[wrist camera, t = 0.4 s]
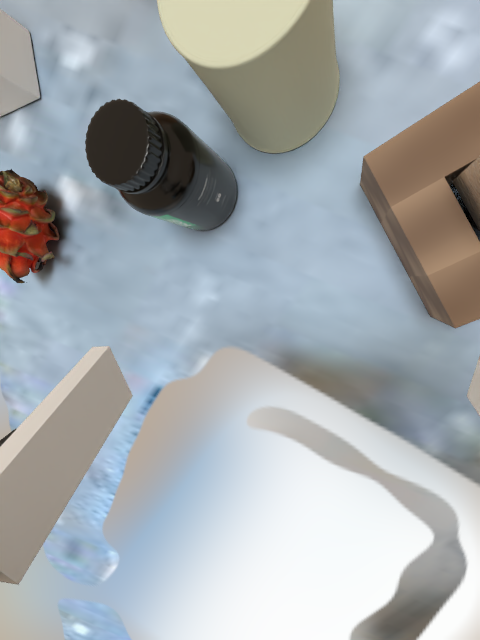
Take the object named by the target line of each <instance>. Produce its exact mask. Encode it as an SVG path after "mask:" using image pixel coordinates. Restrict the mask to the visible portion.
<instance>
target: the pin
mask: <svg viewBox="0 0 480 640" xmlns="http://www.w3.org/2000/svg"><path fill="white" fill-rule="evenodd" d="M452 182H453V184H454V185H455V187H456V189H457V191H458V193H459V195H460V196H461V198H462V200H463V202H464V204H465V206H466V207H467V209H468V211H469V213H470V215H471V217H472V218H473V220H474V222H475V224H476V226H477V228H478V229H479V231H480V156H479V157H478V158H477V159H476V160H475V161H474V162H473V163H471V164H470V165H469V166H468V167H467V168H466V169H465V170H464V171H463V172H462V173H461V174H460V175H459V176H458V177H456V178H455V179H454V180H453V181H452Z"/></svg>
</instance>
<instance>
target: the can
mask: <svg viewBox="0 0 480 640" xmlns="http://www.w3.org/2000/svg"><path fill="white" fill-rule="evenodd" d="M157 3H158V10H159V15H160V19H161V22H162V25H163V28H164V30H165V33H166V35H167V37H168V39H169V40H170V42H171V43H172V45H173V46H174V48H175V49H176V50H177V51H178V52H179V53H180V54H181V55H182V56H183V57H184V58H185V59H186V61H187V62H188V63H189V65H190V66H191V67H192V68H193V70H194V71H195V72H196V74H197V75H198V76H199V78H200V79H201V80H202V81H203V83H204V84H205V85H206V87H207V88H208V89H209V91H210V92H211V93H212V95H213V96H214V97H215V99H216V100H217V101H218V103H219V104H220V105H221V107H222V108H223V110H224V111H225V112H226V114H227V115H228V116H229V118H230V119H231V120H232V122H233V123H234V125H235V128H236V130H237V132H238V133H239V135H240V136H241V137H242V139H243V140H244V141H245V142H246V143H247V144H249V145H250V146H251V147H253V148H255V149H257V150H259V151H262V152H266V153H283V152H287V151H291V150H293V149H296V148H298V147H300V146H302V145H303V144H305V143H306V142H308V141H309V140H310V139H312V138H313V137H314V136H315V135H316V134H317V133H318V132H319V131H320V130H321V128H322V127H323V126H324V124H325V123H326V121H327V120H328V118H329V116H330V115H331V113H332V111H333V108H334V106H335V103H336V100H337V96H338V91H339V68H338V64H337V60H336V51H335V35H334V18H333V0H157Z"/></svg>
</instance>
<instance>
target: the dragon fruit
mask: <svg viewBox="0 0 480 640" xmlns="http://www.w3.org/2000/svg"><path fill="white" fill-rule="evenodd" d="M47 200H48V194H47V192H46V191H45V190H44V191H42V192H40V191H38V189H37V187H36V186H35V185H34V183H33V182H32V181H30V180H29V179H26V178H24V177H20V176H19V175H18V174H16V173H15V172H14V171H12V169H11V170H7V171H1V172H0V268H1V269H2V270H4V271H5V272H6V273H7V274H8V276H10V277H11V278H12V279H13V280H14V281H15V280H16V282H17V283H24V281H22V280H20V279H19V278H22V277H24V276H27V275H28V274H29V272H30V270H29V268H31V271H32V272H33V273H37V272H39V271H40V270H42V268H43V265H45V264H46V261H47V259H51V258H52V259H54V258H55V257H54V255H53V253H52V252H49V251H48V249H47V246H46V243H47V241H49V240H59V233H58V229H57V227H56V226H55V225H53V223H52V221H53V220H54V218H55V211H53V210H51V209H47V208H46V207H45V205H46V203H47ZM49 225H50V227H51V228H52V229H53V230H54V231H55V233H56V234H55V233H54V232H53V231H51V230H50V228H49ZM39 258H42V259H41V263H40V265H39V268H38V269H35V267H36V263H37V262H39ZM26 283H27V282H26Z"/></svg>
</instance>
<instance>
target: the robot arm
mask: <svg viewBox="0 0 480 640" xmlns="http://www.w3.org/2000/svg"><path fill="white" fill-rule="evenodd" d="M467 397H468V399H469V400H470V402H471V404H472V405H473V407H474V408H475V410H476V411H477V413H478V414H479V416H480V356H479V359H478V363H477V366H476V369H475V372H474V375H473V378H472V381H471V384H470V387H469V390H468V393H467ZM131 398H132V393H131V391H130V389H129V387H128V385H127V383H126V381H125V379H124V377H123V374H122V372H121V370H120V368H119V366H118V364H117V362H116V360H115V358H114V355H113V353H112V351H111V349H110V347H109V346H107V347H92V348H91V349H90V350H89V351H88V352H87V354H86V355H85V356H84V357H83V358H82V359H81V360H80V361H79V362H78V363H77V364H76V365H75V366H74V368H73V369H72V370H71V371H70V372H69V373H68V374H67V375H66V376H65V377H64V378H63V379H62V381H61V382H60V383H59V384H58V385H57V386H56V387H55V388H54V389H53V390H52V391H51V392H50V394H49V395H48V396H47V397H46V398H45V399H44V400H43V401H42V402H41V403H40V404H39V405H38V407H37V408H36V409H35V410H34V411H33V412H32V413H31V414H30V415H29V416H28V417H27V418H26V420H25V421H24V422H23V423H22V424H21V425H20V426H19V427H18V428H17V429H15V430H13V431H12V432H11V433H9V434H8V435H7V436H5V437H4V438H3V439H1V440H0V581H1V582H6V583H12V584H19V583H20V581H21V580H22V578H23V576H24V575H25V573H26V571H27V570H28V568H29V566H30V565H31V563H32V561H33V560H34V558H35V557H36V555H37V553H38V552H39V550H40V548H41V547H42V545H43V543H44V542H45V540H46V538H47V537H48V535H49V533H50V532H51V530H52V528H53V527H54V525H55V523H56V522H57V520H58V518H59V517H60V515H61V514H62V512H63V510H64V509H65V507H66V505H67V504H68V502H69V500H70V499H71V497H72V495H73V494H74V492H75V490H76V489H77V487H78V485H79V484H80V482H81V480H82V479H83V477H84V475H85V474H86V472H87V471H88V469H89V467H90V466H91V464H92V462H93V461H94V459H95V457H96V456H97V454H98V452H99V451H100V449H101V447H102V446H103V444H104V442H105V441H106V439H107V437H108V436H109V434H110V432H111V431H112V429H113V428H114V426H115V424H116V423H117V421H118V419H119V418H120V416H121V414H122V413H123V411H124V409H125V408H126V406H127V404H128V403H129V401H130V399H131Z"/></svg>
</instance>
